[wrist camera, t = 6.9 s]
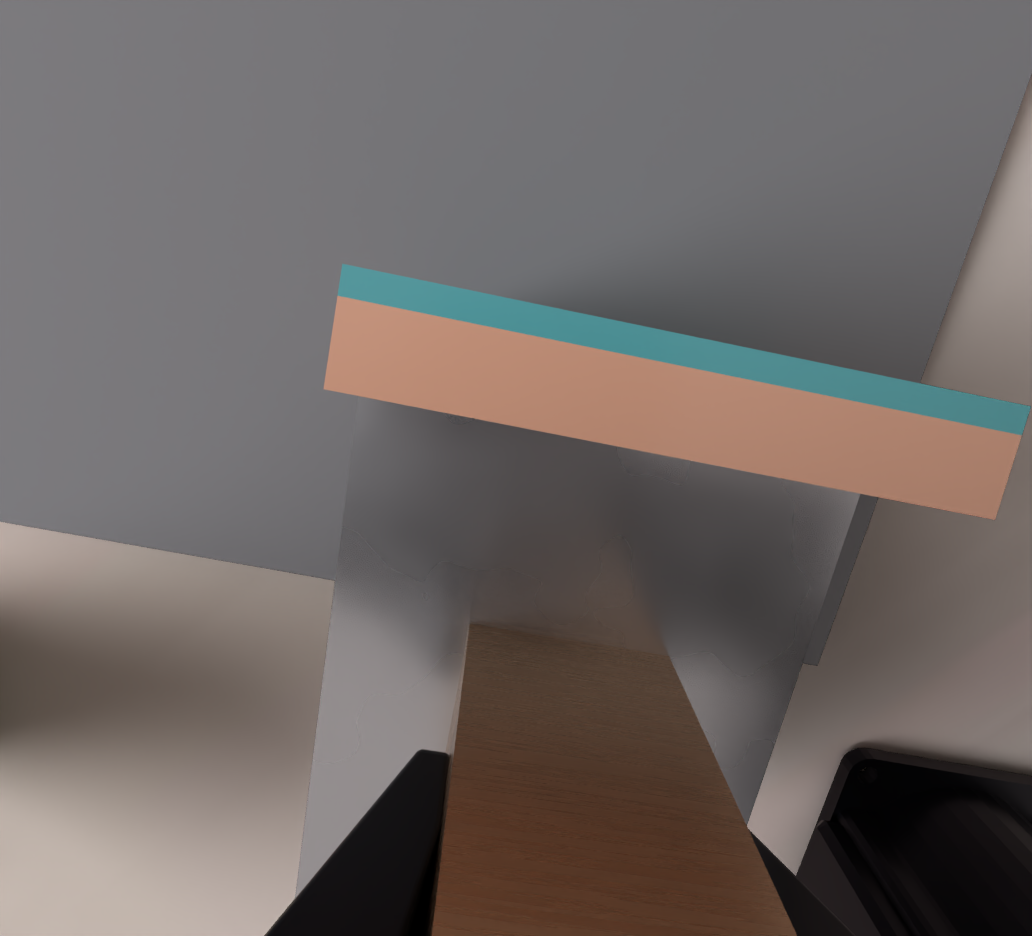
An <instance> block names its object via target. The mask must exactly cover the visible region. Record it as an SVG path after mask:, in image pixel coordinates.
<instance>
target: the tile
mask: <svg viewBox="0 0 1032 936" xmlns="http://www.w3.org/2000/svg"><path fill="white" fill-rule="evenodd" d="M324 389H325V390H330V391H335V392H341V393H346V394H351V395H356V396H361V397H366V398H371V399H376V400H382V401H387V402H392V403H397V404H402V405H407V406H412V407H418V408H423V409H428V410H433V411H438V412H443V413H448V414H454V415H459V416H464V417H469V418H474V419H479V420H484V421H490V422H495V423H500V424H505V425H510V426H515V427H520V428H525V429H531V430H536V431H541V432H546V433H551V434H556V435H561V436H567V437H572V438H577V439H582V440H587V441H592V442H597V443H603V444H608V445H613V446H618V447H623V448H628V449H633V450H638V451H644V452H649V453H654V454H659V455H664V456H669V457H674V458H680V459H685V460H690V461H695V462H700V463H705V464H710V465H716V466H721V467H726V468H731V469H736V470H741V471H746V472H751V473H757V474H762V475H767V476H772V477H777V478H782V479H787V480H793V481H798V482H803V483H808V484H813V485H818V486H823V487H829V488H834V489H839V490H844V491H849V492H854V493H859V494H864V495H870V496H875V497H880V498H885V499H890V500H895V501H900V502H906V503H911V504H916V505H921V506H926V507H931V508H936V509H942V510H947V511H952V512H957V513H962V514H967V515H972V516H977V517H983V518H988V519H993V520H995V518H996V515H997V512H998V509H999V506H1000V503H1001V500H1002V496H1003V493H1004V490H1005V487H1006V484H1007V481H1008V478H1009V474H1010V471H1011V468H1012V465H1013V462H1014V459H1015V456H1016V453H1017V449H1018V446H1019V443H1020V440H1021V437H1022V434H1023V431H1024V427H1025V424H1026V421H1027V418H1028V415H1029V412H1030V409H1031V406H1026V405H1022V404H1017V403H1012V402H1007V401H1002V400H998V399H993V398H988V397H983V396H978V395H973V394H969V393H964V392H959V391H954V390H949V389H944V388H940V387H935V386H930V385H925V384H920V383H916V382H911V381H906V380H901V379H896V378H891V377H887V376H882V375H877V374H872V373H867V372H862V371H858V370H853V369H848V368H843V367H838V366H834V365H829V364H824V363H819V362H814V361H809V360H805V359H800V358H795V357H790V356H785V355H780V354H776V353H771V352H766V351H761V350H756V349H751V348H747V347H742V346H737V345H732V344H727V343H723V342H718V341H713V340H708V339H703V338H698V337H694V336H689V335H684V334H679V333H674V332H669V331H665V330H660V329H655V328H650V327H645V326H641V325H636V324H631V323H626V322H621V321H616V320H612V319H607V318H602V317H597V316H592V315H587V314H583V313H578V312H573V311H568V310H563V309H559V308H554V307H549V306H544V305H539V304H534V303H530V302H525V301H520V300H515V299H510V298H505V297H501V296H496V295H491V294H486V293H481V292H476V291H472V290H467V289H462V288H457V287H452V286H448V285H443V284H438V283H433V282H428V281H423V280H419V279H414V278H409V277H404V276H399V275H394V274H390V273H385V272H380V271H375V270H370V269H366V268H361V267H356V266H351V265H346V264H342V269H341V276H340V283H339V289H338V296H337V303H336V309H335V316H334V322H333V329H332V336H331V342H330V349H329V356H328V362H327V369H326V375H325V382H324Z"/></svg>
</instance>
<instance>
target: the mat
mask: <svg viewBox="0 0 1032 936" xmlns="http://www.w3.org/2000/svg"><path fill="white" fill-rule="evenodd" d="M1031 74H1032V0H0V522H5V523H11V524H17V525H22V526H28V527H34V528H39V529H45V530H51V531H56V532H62V533H68V534H73V535H79V536H85V537H90V538H96V539H102V540H107V541H113V542H119V543H124V544H130V545H136V546H141V547H147V548H153V549H158V550H164V551H170V552H175V553H181V554H187V555H192V556H198V557H204V558H209V559H215V560H221V561H226V562H232V563H238V564H243V565H249V566H255V567H260V568H266V569H272V570H277V571H283V572H289V573H294V574H300V575H306V576H311V577H317V578H323V579H328V580H334V581H335V578H336V570H337V562H338V554H339V546H340V538H341V530H342V522H343V514H344V506H345V499H346V491H347V483H348V475H349V467H350V459H351V451H352V443H353V435H354V427H355V419H356V411H357V403H358V396H356V395H351V394H346V393H341V392H335V391H330V390H325V389H324V382H325V375H326V369H327V362H328V356H329V349H330V342H331V336H332V329H333V322H334V316H335V309H336V303H337V296H338V289H339V283H340V276H341V269H342V264H346V265H351V266H356V267H361V268H366V269H370V270H375V271H380V272H385V273H390V274H394V275H399V276H404V277H409V278H414V279H419V280H423V281H428V282H433V283H438V284H443V285H448V286H452V287H457V288H462V289H467V290H472V291H476V292H481V293H486V294H491V295H496V296H501V297H505V298H510V299H515V300H520V301H525V302H530V303H534V304H539V305H544V306H549V307H554V308H559V309H563V310H568V311H573V312H578V313H583V314H587V315H592V316H597V317H602V318H607V319H612V320H616V321H621V322H626V323H631V324H636V325H641V326H645V327H650V328H655V329H660V330H665V331H669V332H674V333H679V334H684V335H689V336H694V337H698V338H703V339H708V340H713V341H718V342H723V343H727V344H732V345H737V346H742V347H747V348H751V349H756V350H761V351H766V352H771V353H776V354H780V355H785V356H790V357H795V358H800V359H805V360H809V361H814V362H819V363H824V364H829V365H834V366H838V367H843V368H848V369H853V370H858V371H862V372H867V373H872V374H877V375H882V376H887V377H891V378H896V379H901V380H906V381H911V382H916V383H920V381H921V378H922V376H923V373H924V370H925V367H926V365H927V362H928V359H929V356H930V353H931V351H932V348H933V345H934V342H935V340H936V337H937V334H938V331H939V329H940V326H941V323H942V320H943V318H944V315H945V312H946V309H947V307H948V304H949V301H950V298H951V295H952V293H953V290H954V287H955V284H956V282H957V279H958V276H959V273H960V271H961V268H962V265H963V262H964V260H965V257H966V254H967V251H968V248H969V246H970V243H971V240H972V237H973V235H974V232H975V229H976V226H977V224H978V221H979V218H980V215H981V213H982V210H983V207H984V204H985V202H986V199H987V196H988V193H989V190H990V188H991V185H992V182H993V179H994V177H995V174H996V171H997V168H998V166H999V163H1000V160H1001V157H1002V155H1003V152H1004V149H1005V146H1006V143H1007V141H1008V138H1009V135H1010V132H1011V130H1012V127H1013V124H1014V121H1015V119H1016V116H1017V113H1018V110H1019V108H1020V105H1021V102H1022V99H1023V96H1024V94H1025V91H1026V88H1027V85H1028V83H1029V80H1030V77H1031ZM877 500H878V497H875V496H870V495H864V494H860V496H859V499H858V502H857V505H856V508H855V511H854V514H853V517H852V520H851V523H850V526H849V529H848V532H847V534H846V537H845V540H844V543H843V546H842V549H841V552H840V555H839V558H838V561H837V564H836V567H835V570H834V572H833V575H832V578H831V581H830V584H829V587H828V590H827V593H826V596H825V599H824V602H823V605H822V607H821V610H820V613H819V616H818V619H817V622H816V625H815V628H814V631H813V634H812V637H811V640H810V643H809V645H808V648H807V651H806V654H805V657H804V660H803V663H804V664H810V665H816V666H818V663H819V660H820V657H821V655H822V652H823V649H824V646H825V644H826V641H827V638H828V635H829V633H830V630H831V627H832V624H833V622H834V619H835V616H836V613H837V610H838V608H839V605H840V602H841V599H842V597H843V594H844V591H845V588H846V586H847V583H848V580H849V577H850V575H851V572H852V569H853V566H854V564H855V561H856V558H857V555H858V552H859V550H860V547H861V544H862V541H863V539H864V536H865V533H866V530H867V528H868V525H869V522H870V519H871V517H872V514H873V511H874V508H875V505H876V503H877Z"/></svg>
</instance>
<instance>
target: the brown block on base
mask: <svg viewBox="0 0 1032 936" xmlns="http://www.w3.org/2000/svg"><path fill="white" fill-rule="evenodd" d="M859 496H860V494H859V493H854V492H849V491H844V490H839V489H834V488H829V487H823V486H818V485H813V484H808V483H803V482H798V481H793V480H787V479H782V478H777V477H772V476H767V475H762V474H757V473H751V472H746V471H741V470H736V469H731V468H726V467H721V466H716V465H710V464H705V463H700V462H695V461H690V460H685V459H680V458H674V457H669V456H664V455H659V454H654V453H649V452H644V451H638V450H633V449H628V448H623V447H618V446H613V445H608V444H603V443H597V442H592V441H587V440H582V439H577V438H572V437H567V436H561V435H556V434H551V433H546V432H541V431H536V430H531V429H525V428H520V427H515V426H510V425H505V424H500V423H495V422H490V421H484V420H479V419H474V418H469V417H464V416H459V415H454V414H448V413H443V412H438V411H433V410H428V409H423V408H418V407H412V406H407V405H402V404H397V403H392V402H387V401H382V400H376V399H371V398H366V397H361V396H358V403H357V411H356V419H355V427H354V435H353V443H352V451H351V459H350V467H349V475H348V483H347V491H346V499H345V506H344V514H343V522H342V530H341V538H340V546H339V554H338V562H337V570H336V578H335V586H334V594H333V602H332V610H331V617H330V625H329V633H328V641H327V649H326V657H325V665H324V673H323V681H322V689H321V697H320V705H319V713H318V721H317V728H316V736H315V744H314V752H313V760H312V768H311V776H310V784H309V792H308V800H307V808H306V816H305V824H304V832H303V839H302V847H301V855H300V863H299V871H298V879H297V887H296V895H295V898H296V897H297V896H298V894H299V893H300V892H301V891H302V890H303V888H304V887H305V886H306V885H307V884H308V882H309V881H310V880H311V879H312V877H313V876H314V875H315V874H316V873H317V871H318V870H319V869H320V868H321V867H322V865H323V864H324V863H325V862H326V861H327V859H328V858H329V857H330V856H331V855H332V853H333V852H334V851H335V850H336V848H337V847H338V846H339V845H340V844H341V842H342V841H343V840H344V839H345V838H346V836H347V835H348V834H349V833H350V832H351V830H352V829H353V828H354V827H355V825H356V824H357V823H358V822H359V821H360V819H361V818H362V817H363V816H364V815H365V813H366V812H367V811H368V810H369V809H370V807H371V806H372V805H373V804H374V803H375V801H376V800H377V799H378V798H379V796H380V795H381V794H382V793H383V792H384V790H385V789H386V788H387V787H388V786H389V784H390V783H391V782H392V781H393V780H394V778H395V777H396V776H397V775H398V774H399V772H400V771H401V770H402V769H403V767H404V766H405V765H406V764H407V763H408V761H409V760H410V759H411V758H412V757H413V755H414V754H415V753H416V752H417V751H418V750H420V749H426V750H433V751H439V752H445V753H447V754H448V755H449V762H448V771H447V779H446V788H445V797H444V805H443V814H442V822H441V830H440V837H439V842H438V848H437V853H436V858H435V863H434V869H433V874H432V879H431V884H430V889H429V895H428V900H427V905H426V910H425V916H424V921H423V926H422V931H421V936H797V934H796V932H795V930H794V928H793V926H792V923H791V921H790V919H789V917H788V915H787V913H786V910H785V908H784V906H783V904H782V902H781V899H780V897H779V895H778V893H777V891H776V889H775V886H774V884H773V882H772V880H771V878H770V875H769V873H768V871H767V869H766V867H765V865H764V862H763V860H762V858H761V856H760V854H759V851H758V849H757V847H756V845H755V843H754V840H753V838H752V836H751V834H750V832H749V830H748V827H747V824H748V821H749V818H750V815H751V812H752V809H753V806H754V803H755V800H756V797H757V794H758V791H759V789H760V786H761V783H762V780H763V777H764V774H765V771H766V768H767V765H768V762H769V759H770V756H771V754H772V751H773V748H774V745H775V742H776V739H777V736H778V733H779V730H780V727H781V724H782V721H783V718H784V716H785V713H786V710H787V707H788V704H789V701H790V698H791V695H792V692H793V689H794V686H795V683H796V681H797V678H798V675H799V672H800V669H801V666H802V663H803V660H804V657H805V654H806V651H807V648H808V645H809V643H810V640H811V637H812V634H813V631H814V628H815V625H816V622H817V619H818V616H819V613H820V610H821V607H822V605H823V602H824V599H825V596H826V593H827V590H828V587H829V584H830V581H831V578H832V575H833V572H834V570H835V567H836V564H837V561H838V558H839V555H840V552H841V549H842V546H843V543H844V540H845V537H846V534H847V532H848V529H849V526H850V523H851V520H852V517H853V514H854V511H855V508H856V505H857V502H858V499H859Z"/></svg>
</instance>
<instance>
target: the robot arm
mask: <svg viewBox="0 0 1032 936" xmlns="http://www.w3.org/2000/svg"><path fill="white" fill-rule="evenodd" d="M448 762H449V755H448V754H447V753H445V752H439V751H433V750H426V749H420V750H418V751H417V752H416V753H415V754H414V755H413V757H412V758H411V759H410V760H409V761H408V763H407V764H406V765H405V766H404V767H403V769H402V770H401V771H400V772H399V774H398V775H397V776H396V777H395V778H394V780H393V781H392V782H391V783H390V784H389V786H388V787H387V788H386V789H385V790H384V792H383V793H382V794H381V795H380V796H379V798H378V799H377V800H376V801H375V803H374V804H373V805H372V806H371V807H370V809H369V810H368V811H367V812H366V813H365V815H364V816H363V817H362V818H361V819H360V821H359V822H358V823H357V824H356V825H355V827H354V828H353V829H352V830H351V832H350V833H349V834H348V835H347V836H346V838H345V839H344V840H343V841H342V842H341V844H340V845H339V846H338V847H337V848H336V850H335V851H334V852H333V853H332V855H331V856H330V857H329V858H328V859H327V861H326V862H325V863H324V864H323V865H322V867H321V868H320V869H319V870H318V871H317V873H316V874H315V875H314V876H313V877H312V879H311V880H310V881H309V882H308V884H307V885H306V886H305V887H304V888H303V890H302V891H301V892H300V893H299V894H298V896H297V897H296V898H295V899H294V900H293V902H292V903H291V904H290V905H289V906H288V908H287V909H286V910H285V911H284V913H283V914H282V915H281V916H280V917H279V919H278V920H277V921H276V922H275V923H274V925H273V926H272V927H271V928H270V929H269V931H268V932H267V933H266V934H265V936H421V931H422V926H423V921H424V916H425V910H426V905H427V900H428V895H429V889H430V884H431V879H432V874H433V869H434V863H435V858H436V853H437V848H438V842H439V837H440V830H441V822H442V814H443V805H444V797H445V788H446V779H447V771H448ZM865 767H867V769H866V770H864V771H862V772H860V771H861V770H862V769H864V768H865ZM748 830H749V829H748ZM749 832H750V834H751V836H752V838H753V840H754V843H755V845H756V847H757V849H758V851H759V854H760V856H761V858H762V860H763V862H764V865H765V867H766V869H767V871H768V873H769V875H770V878H771V880H772V882H773V884H774V886H775V889H776V891H777V893H778V895H779V897H780V899H781V902H782V904H783V906H784V908H785V910H786V913H787V915H788V917H789V919H790V921H791V923H792V926H793V928H794V930H795V932H796V934H797V936H1032V776H1028V775H1022V774H1016V773H1010V772H1004V771H999V770H993V769H987V768H981V767H975V766H969V765H963V764H957V763H951V762H945V761H939V760H933V759H928V758H922V757H916V756H910V755H904V754H898V753H892V752H886V751H880V750H874V749H868V748H857V749H854V750H851V751H850V752H848V753H847V754H846V755H844V757H843V759H842V760H841V762H840V765H839V767H838V770H837V772H836V775H835V778H834V780H833V783H832V785H831V788H830V790H829V793H828V795H827V798H826V801H825V803H824V806H823V808H822V811H821V813H820V816H819V819H818V821H817V824H816V826H815V829H814V831H813V834H812V836H811V839H810V842H809V844H808V847H807V849H806V852H805V854H804V857H803V860H802V862H801V865H800V867H799V870H798V872H797V875H796V876H795V875H794V874H793V873H792V872H791V871H790V870H789V869H788V868H787V867H786V866H785V865H784V864H783V863H782V862H781V861H780V860H779V859H778V858H777V857H776V856H775V855H774V854H773V853H772V852H771V851H770V850H769V849H768V848H767V847H766V846H765V845H764V844H763V843H762V842H761V841H760V840H759V839H758V838H757V837H756V836H755V835H754V834H753V833H752V832H751V831H750V830H749Z"/></svg>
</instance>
